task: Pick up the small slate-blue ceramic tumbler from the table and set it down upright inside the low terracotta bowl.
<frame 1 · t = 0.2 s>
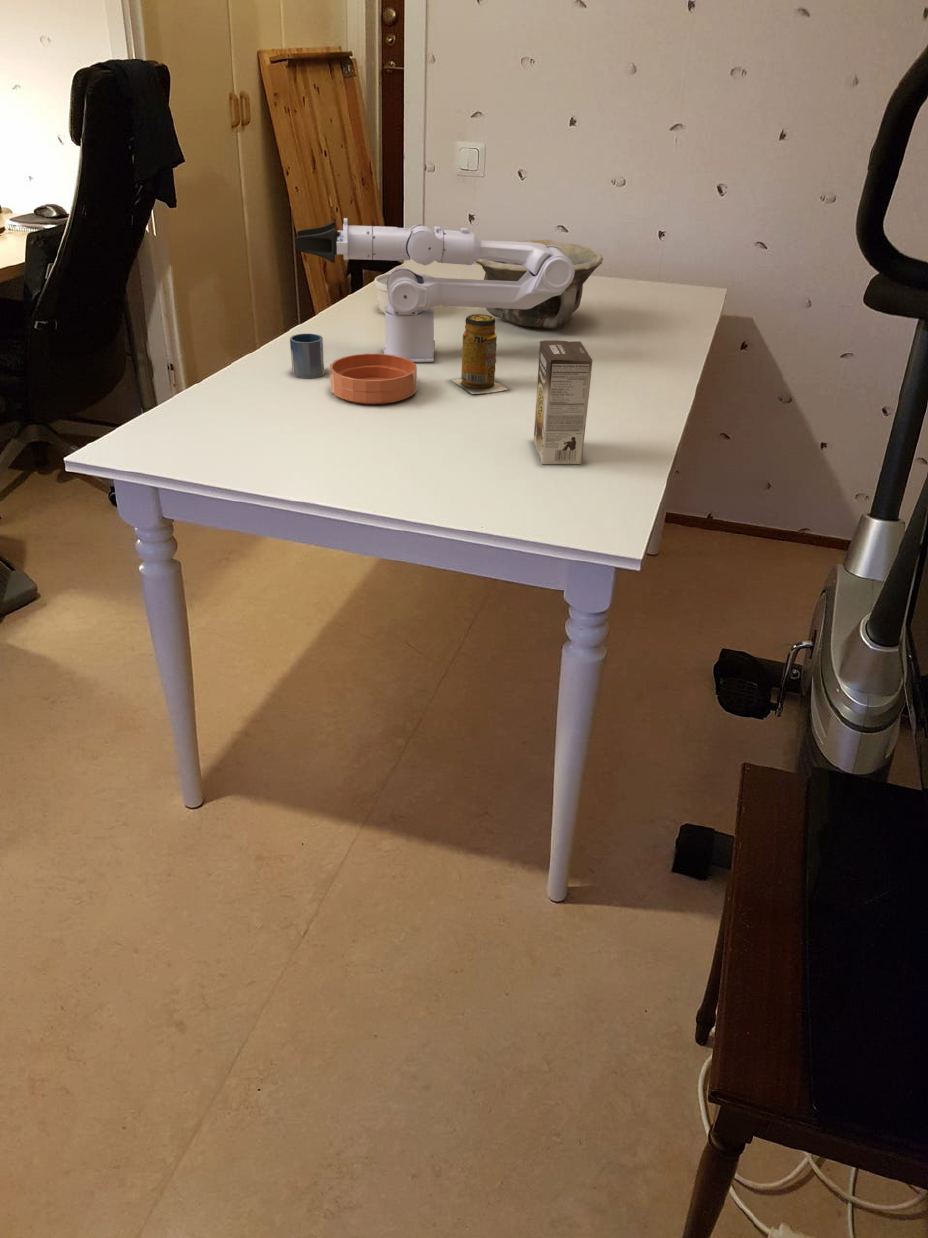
hand: (296, 240, 170), 21 cm above the table, tool horizontal, fingers open, 7 cm apart
ramekin: (404, 312, 211), on the table
condiment: (479, 386, 170), on the table
bowl: (533, 323, 206), on the table
clay bowl: (373, 391, 166), on the table
coffee box: (556, 454, 145), on the table
cup: (308, 373, 173), on the table
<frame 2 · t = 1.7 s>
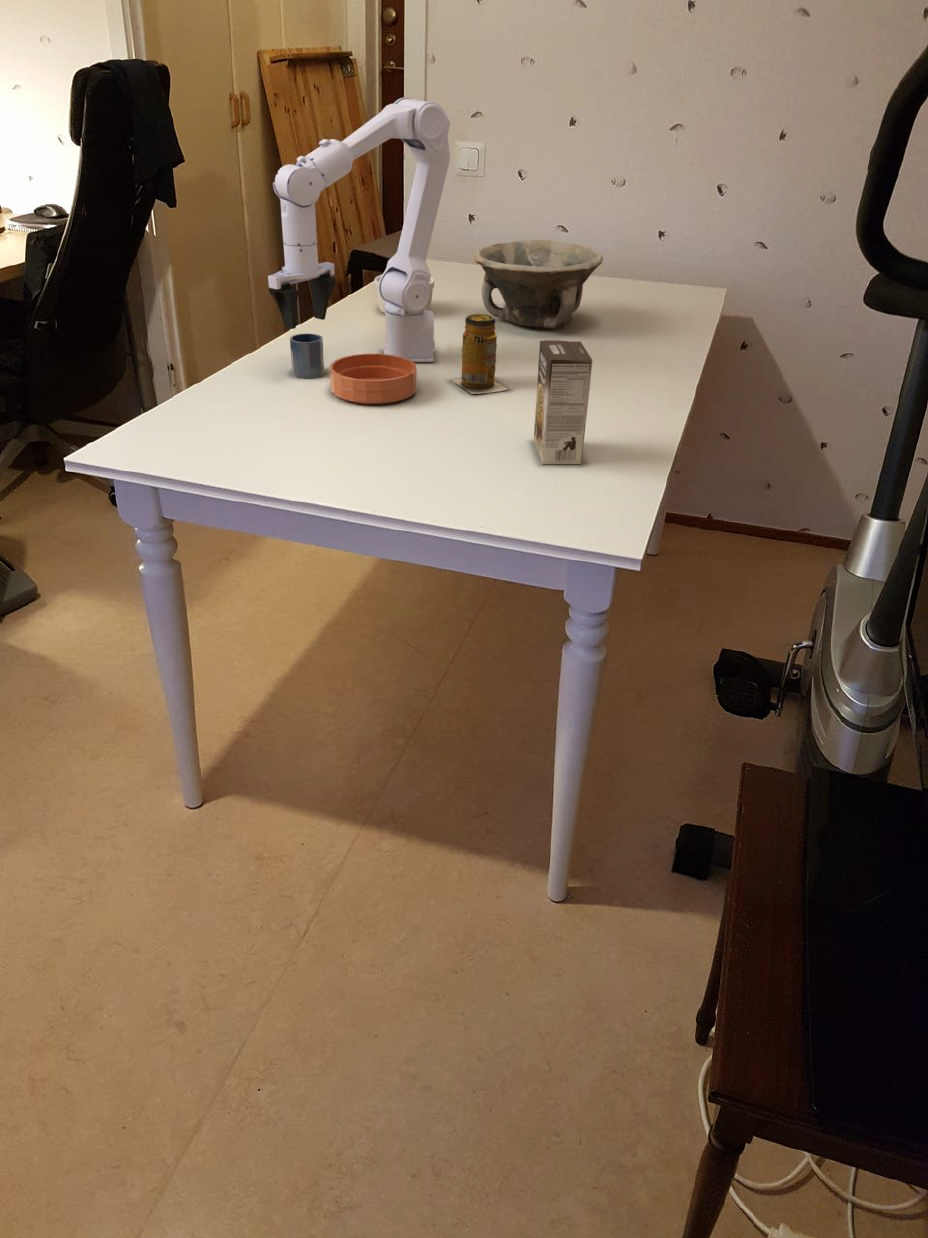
hand: (305, 322, 168), 9 cm above the table, tool pointing down, fingers open, 7 cm apart
nothing on the table moved.
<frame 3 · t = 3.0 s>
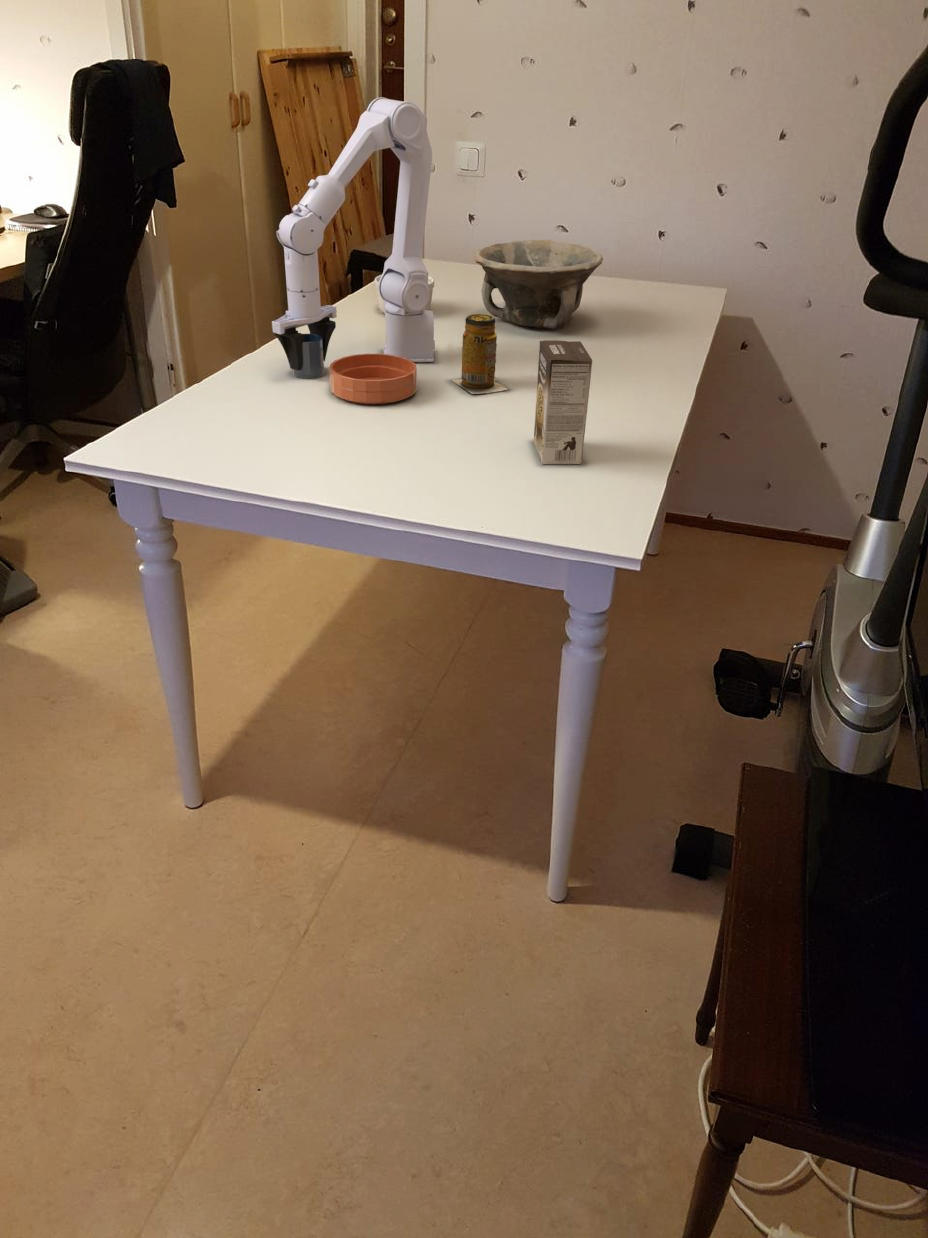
hand: (308, 364, 173), 2 cm above the table, tool pointing down, fingers closed on cup, 6 cm apart
cup: (308, 373, 173), on the table, touching gripper
everything else where it was.
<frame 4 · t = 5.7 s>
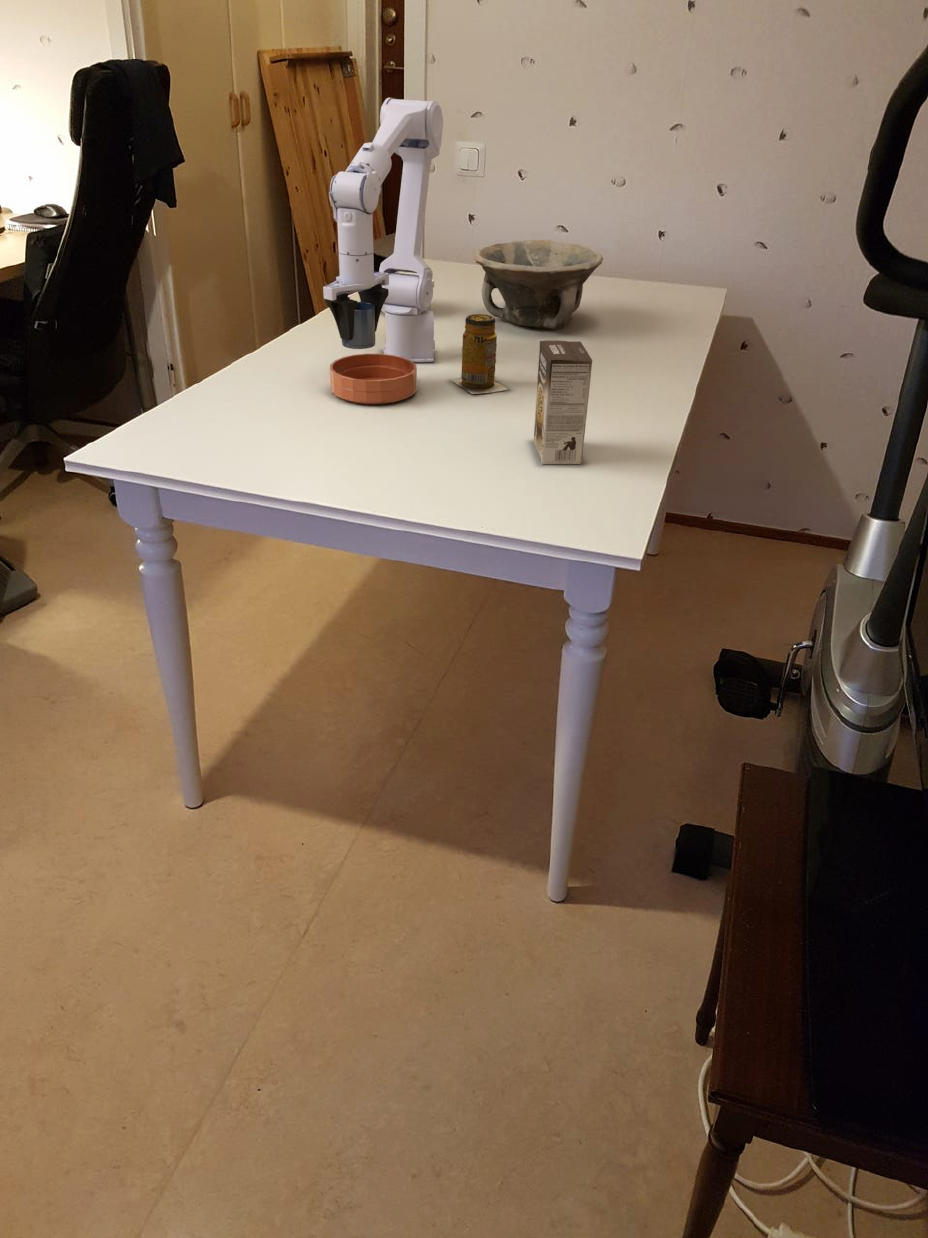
hand: (358, 334, 162), 9 cm above the table, tool pointing down, fingers closed on cup, 6 cm apart
cup: (358, 344, 163), point 8 cm above the table, touching gripper
everything else where it was.
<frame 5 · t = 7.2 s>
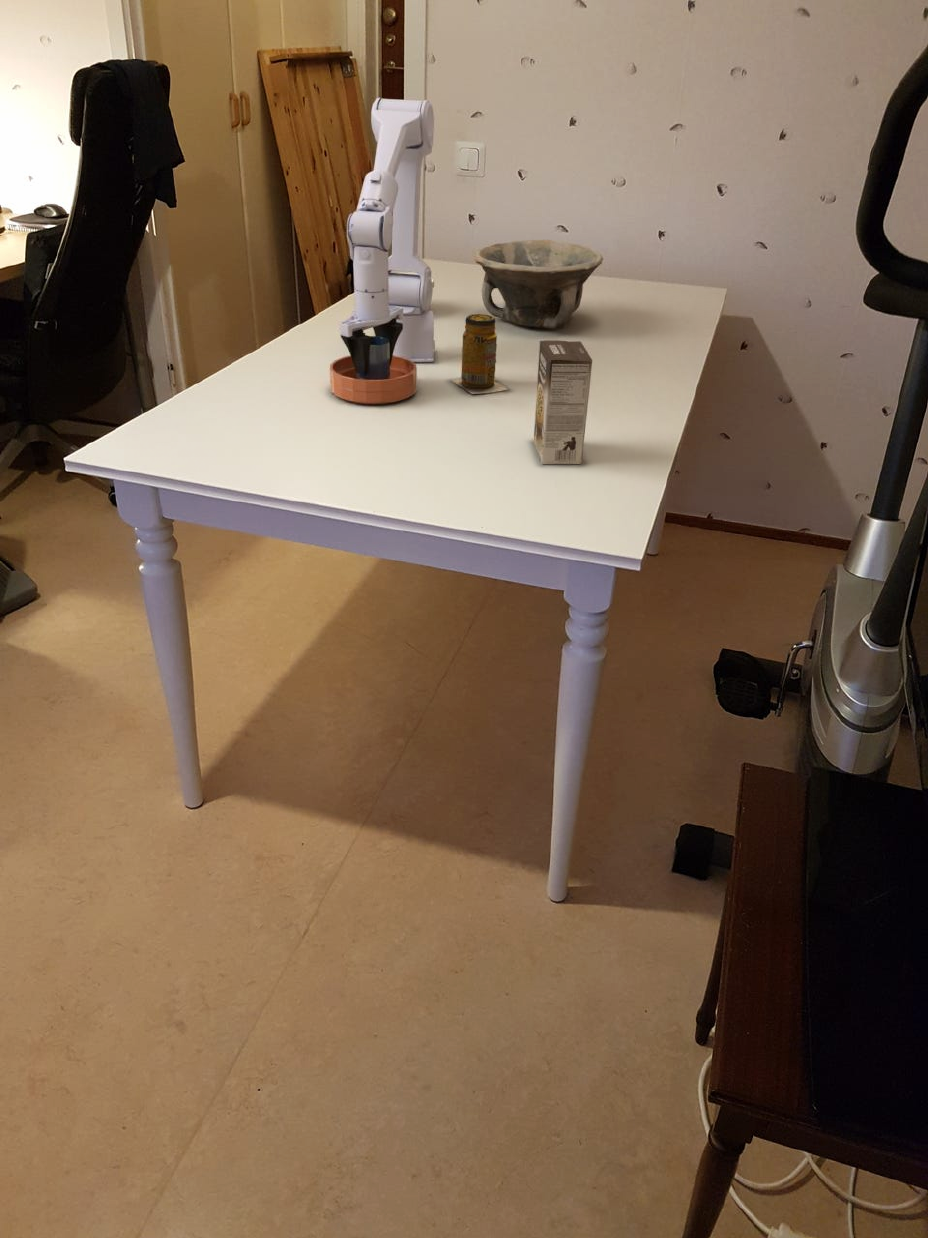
hand: (373, 368, 164), 4 cm above the table, tool pointing down, fingers closed on cup, 6 cm apart
cup: (373, 377, 165), point 2 cm above the table, touching gripper
everything else where it was.
when the fingers open (2 cm above the table, at t = 8.4 s): cup stays where it is, resting on clay bowl.
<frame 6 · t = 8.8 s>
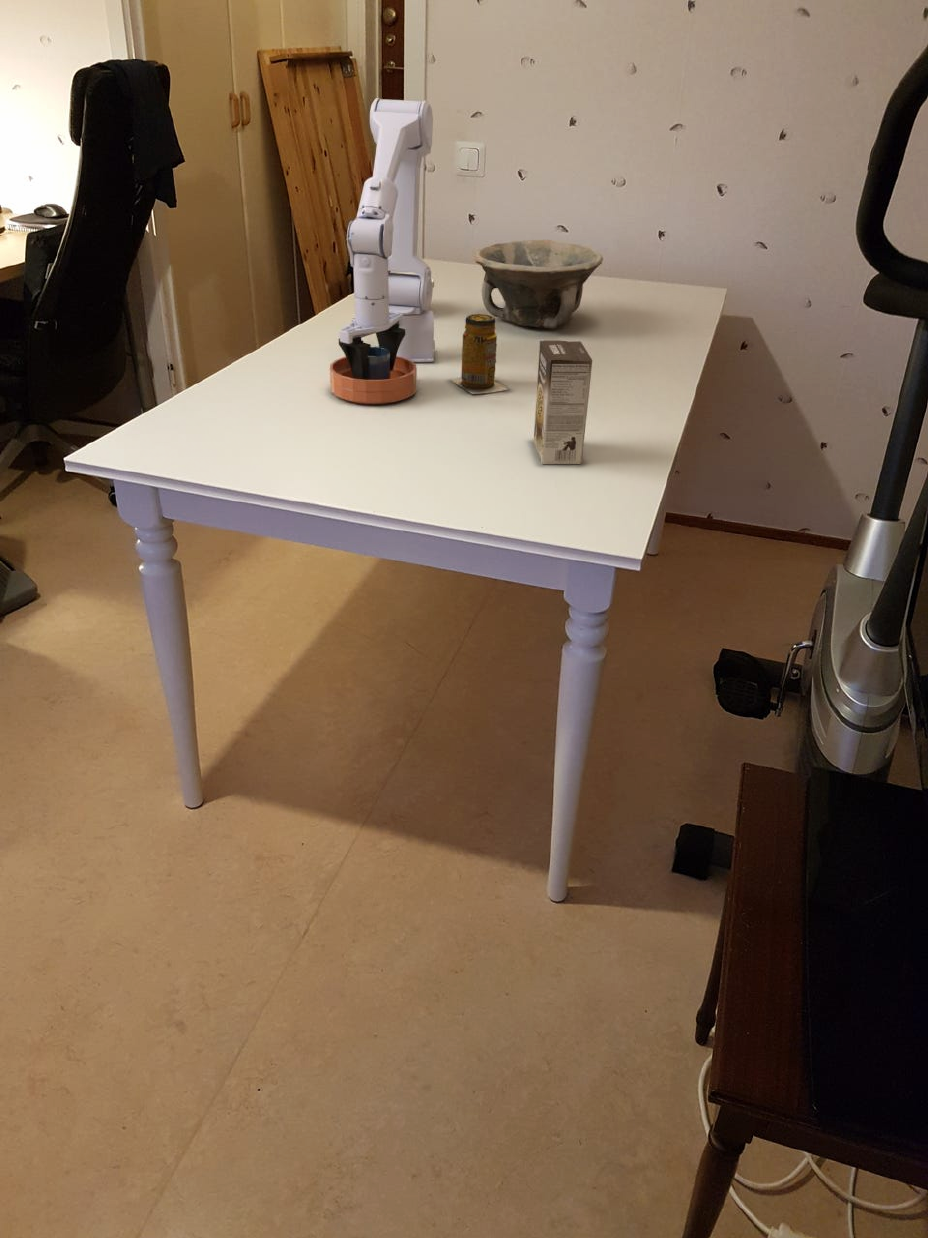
hand: (373, 375, 164), 3 cm above the table, tool pointing down, fingers open, 7 cm apart
cup: (373, 388, 166), point 1 cm above the table, touching clay bowl
everything else where it was.
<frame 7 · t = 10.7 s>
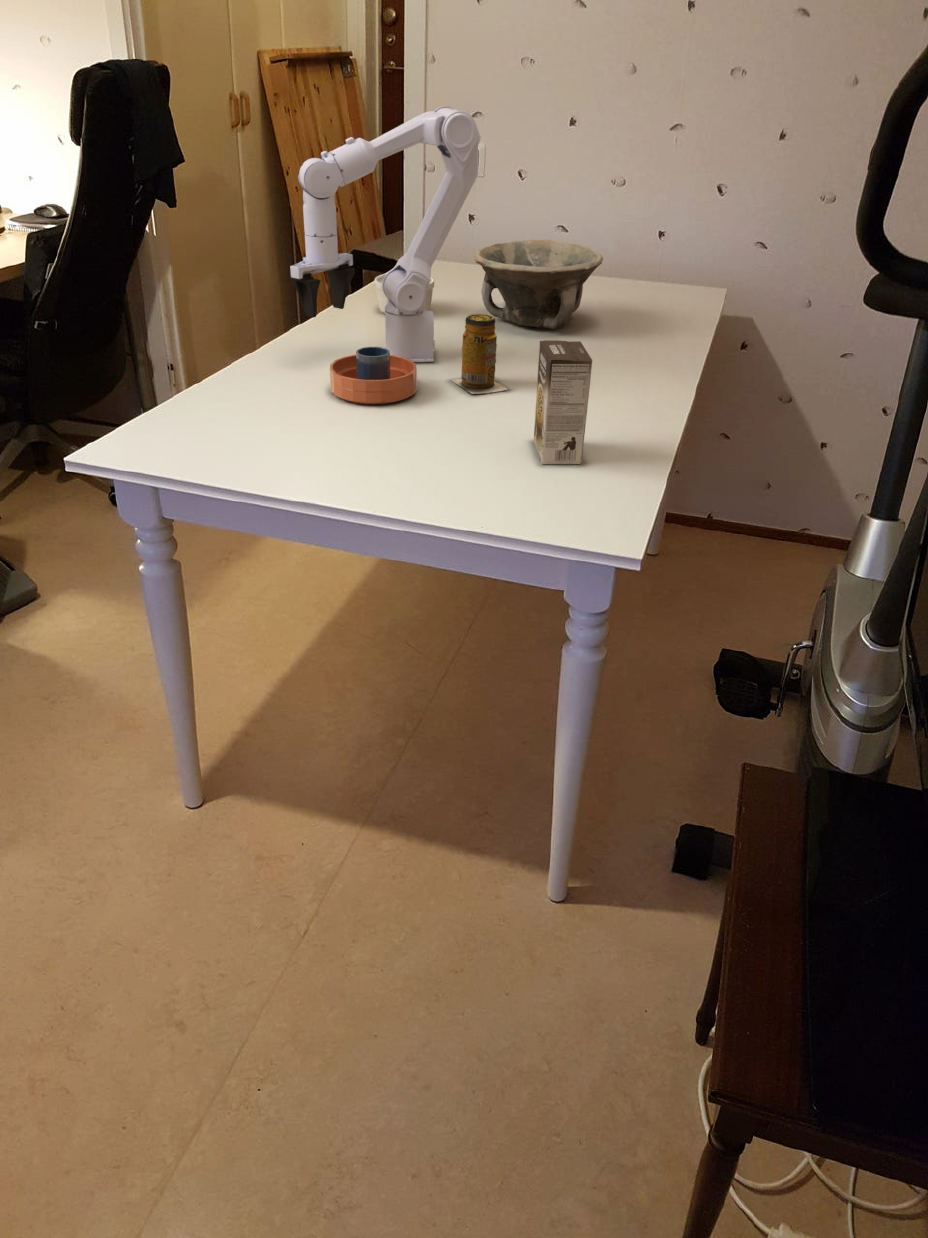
hand: (324, 311, 174), 9 cm above the table, tool pointing down, fingers open, 7 cm apart
nothing on the table moved.
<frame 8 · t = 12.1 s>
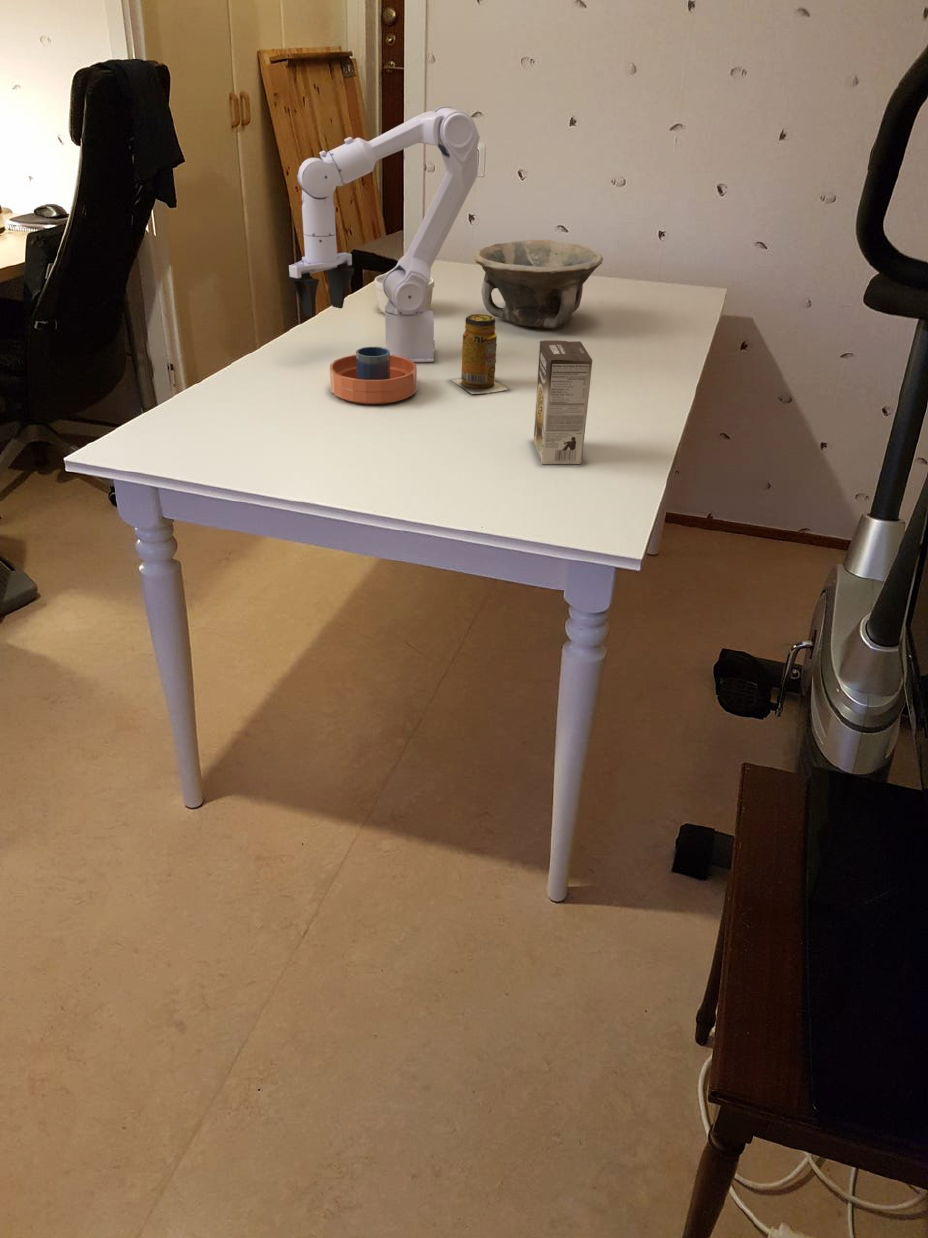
hand: (323, 311, 174), 9 cm above the table, tool pointing down, fingers open, 7 cm apart
nothing on the table moved.
at the end: cup 0.0 cm off-centre in the clay bowl, point 0.6 cm above the clay bowl's base; cup tilted 0°; the gripper is holding nothing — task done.
